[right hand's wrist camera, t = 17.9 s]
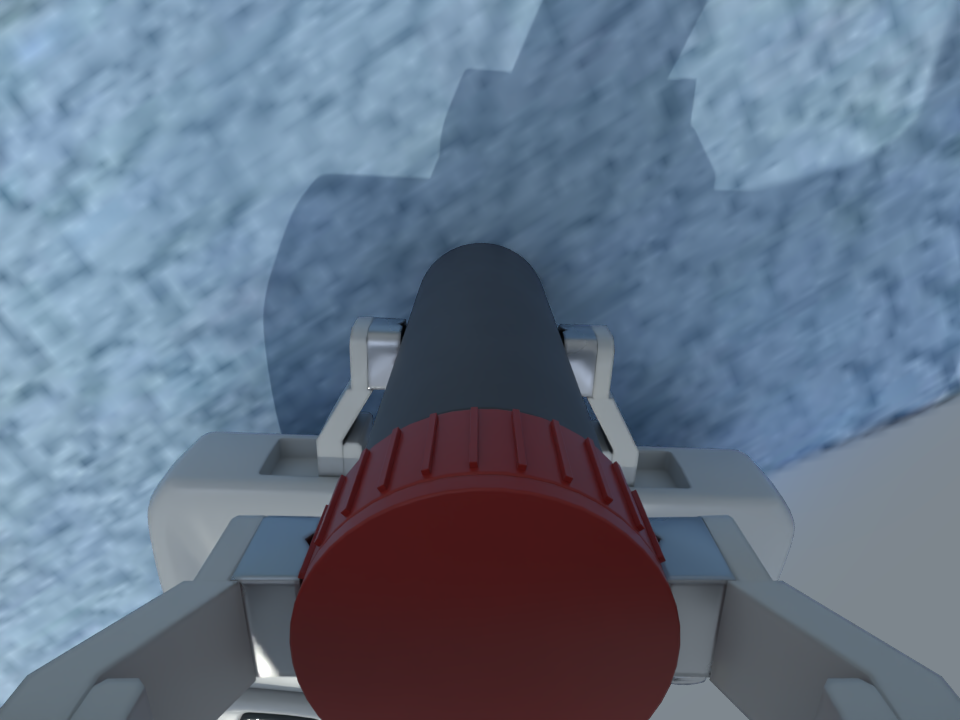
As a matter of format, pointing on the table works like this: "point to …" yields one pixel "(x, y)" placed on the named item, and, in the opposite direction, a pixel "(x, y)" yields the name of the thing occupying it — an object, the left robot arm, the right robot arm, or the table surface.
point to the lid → (484, 581)
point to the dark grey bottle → (481, 347)
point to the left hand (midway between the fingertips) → (481, 325)
